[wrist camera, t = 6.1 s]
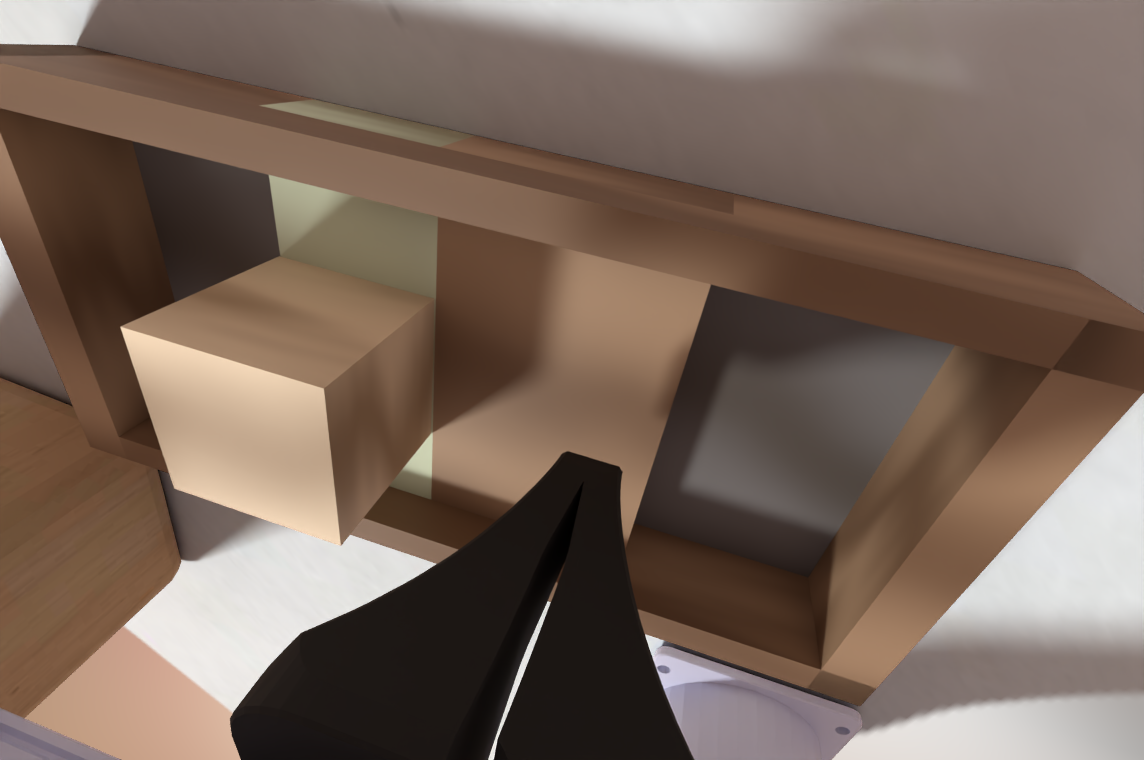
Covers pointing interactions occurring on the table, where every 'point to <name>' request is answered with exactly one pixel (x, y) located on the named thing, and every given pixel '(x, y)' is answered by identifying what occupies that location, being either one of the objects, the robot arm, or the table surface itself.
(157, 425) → the maple block
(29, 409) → the wooden block
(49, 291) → the box
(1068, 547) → the table surface
